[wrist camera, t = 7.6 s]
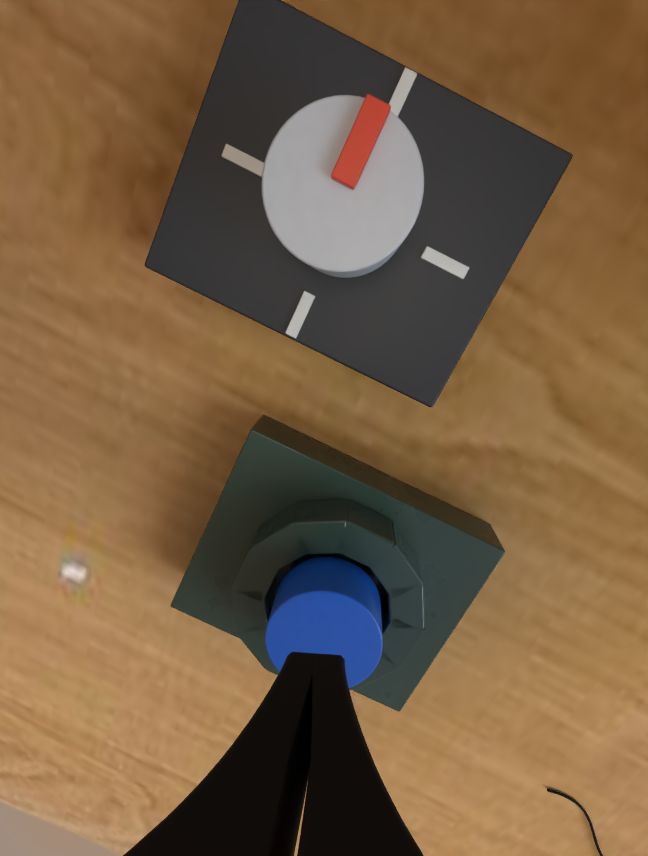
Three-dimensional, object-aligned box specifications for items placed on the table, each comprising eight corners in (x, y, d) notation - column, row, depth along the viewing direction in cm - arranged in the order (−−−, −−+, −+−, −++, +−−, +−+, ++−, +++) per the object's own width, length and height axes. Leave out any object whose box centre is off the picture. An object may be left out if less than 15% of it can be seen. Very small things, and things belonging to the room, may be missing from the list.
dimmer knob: (373, 298, 15) (377, 299, 11) (265, 244, 15) (232, 226, 11) (432, 180, 14) (458, 138, 10) (317, 120, 14) (301, 55, 10)
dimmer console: (537, 178, 17) (577, 152, 14) (421, 391, 19) (433, 409, 16) (266, 36, 16) (243, -24, 13) (177, 270, 18) (140, 265, 15)
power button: (399, 584, 17) (404, 622, 15) (351, 663, 18) (350, 709, 16) (302, 538, 17) (294, 571, 15) (259, 621, 18) (246, 662, 16)
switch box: (490, 524, 20) (521, 579, 16) (396, 672, 22) (403, 752, 18) (263, 414, 19) (238, 443, 16) (188, 576, 21) (150, 637, 18)
